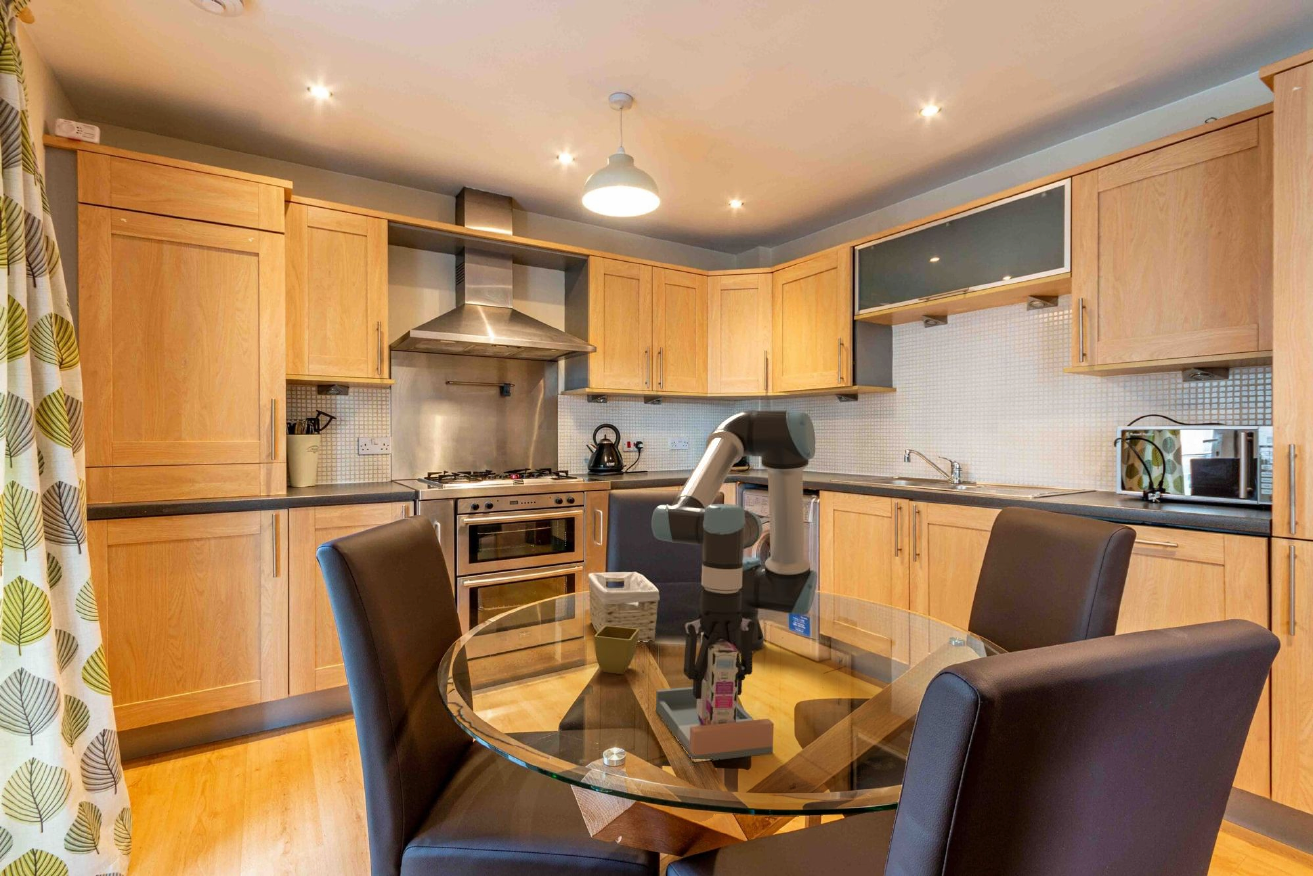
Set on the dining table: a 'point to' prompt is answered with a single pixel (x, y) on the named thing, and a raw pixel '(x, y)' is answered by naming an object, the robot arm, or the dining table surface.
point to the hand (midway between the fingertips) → (716, 713)
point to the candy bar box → (721, 683)
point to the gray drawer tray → (712, 728)
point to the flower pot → (615, 648)
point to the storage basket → (624, 603)
